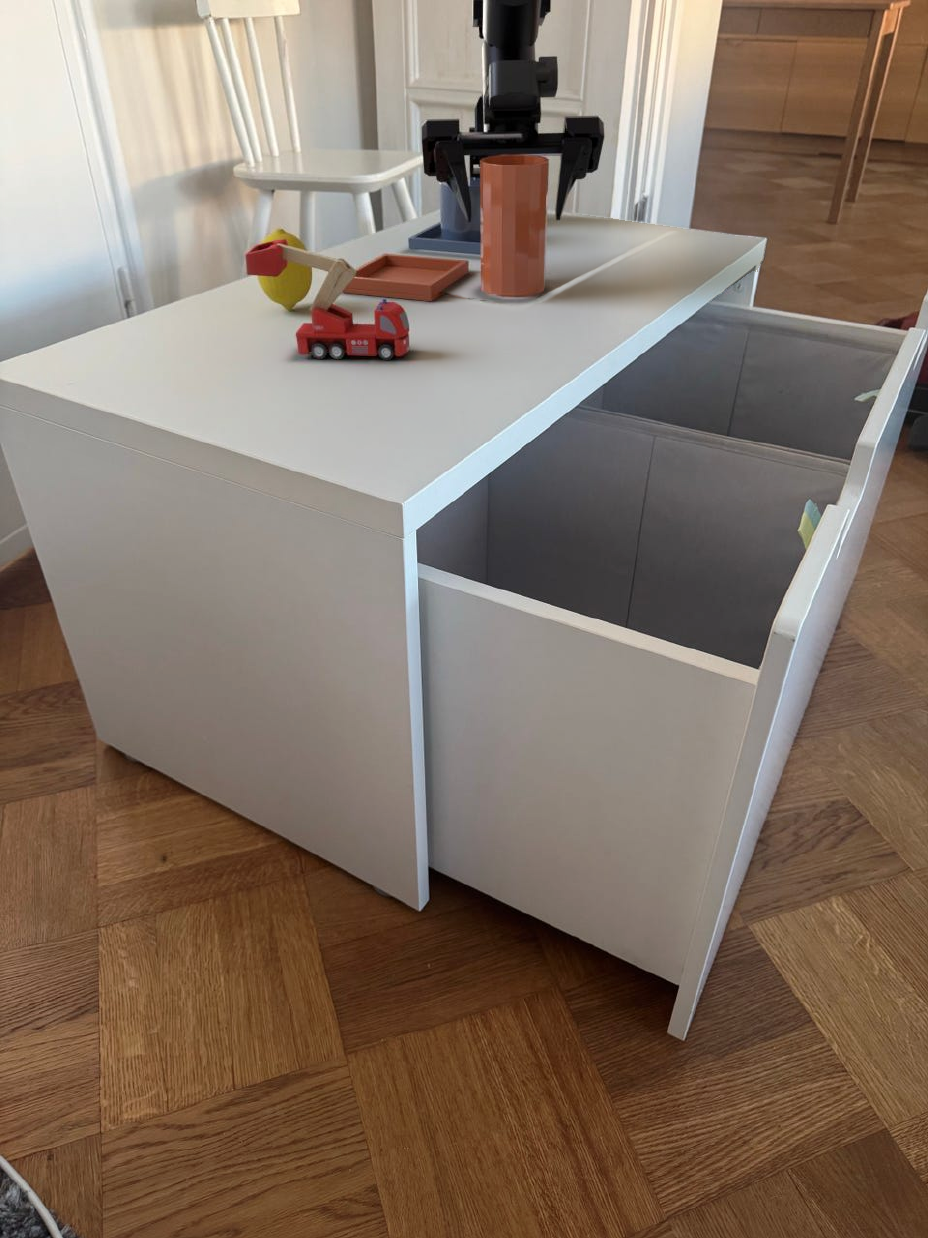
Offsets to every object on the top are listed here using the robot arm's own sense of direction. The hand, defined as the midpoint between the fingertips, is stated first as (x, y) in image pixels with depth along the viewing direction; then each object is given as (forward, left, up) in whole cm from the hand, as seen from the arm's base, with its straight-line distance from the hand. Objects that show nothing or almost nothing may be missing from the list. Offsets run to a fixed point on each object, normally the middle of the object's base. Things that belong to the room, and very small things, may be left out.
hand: (514, 218), depth 94 cm
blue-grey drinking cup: (-15, -16, -7) cm, 23 cm away
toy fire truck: (+25, -4, -8) cm, 26 cm away
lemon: (+17, -17, -8) cm, 25 cm away
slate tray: (-15, -16, -7) cm, 24 cm away
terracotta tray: (+3, -12, -7) cm, 15 cm away
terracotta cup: (0, 0, -7) cm, 8 cm away
